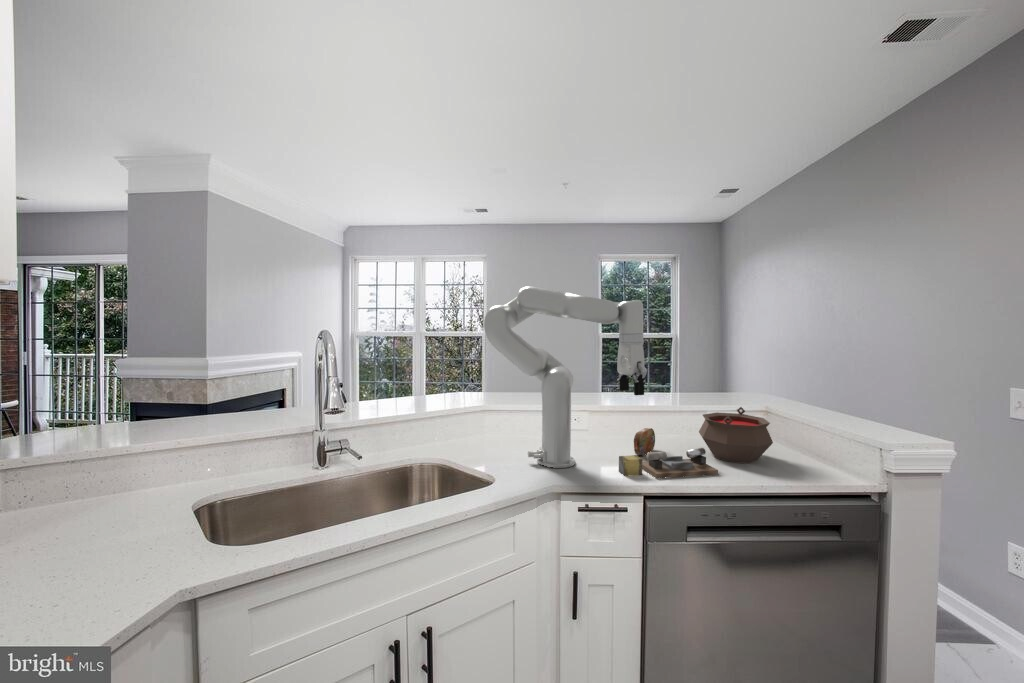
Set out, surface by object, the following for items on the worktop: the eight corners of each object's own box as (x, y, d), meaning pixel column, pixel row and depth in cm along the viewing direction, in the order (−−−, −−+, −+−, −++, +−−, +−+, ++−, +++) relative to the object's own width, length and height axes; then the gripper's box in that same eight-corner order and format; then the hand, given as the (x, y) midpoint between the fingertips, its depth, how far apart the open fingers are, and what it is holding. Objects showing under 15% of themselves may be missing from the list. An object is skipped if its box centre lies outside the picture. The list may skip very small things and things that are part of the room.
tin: (640, 458, 158) (641, 434, 157) (631, 456, 160) (632, 433, 159) (655, 449, 170) (656, 426, 169) (647, 447, 171) (648, 425, 171)
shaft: (694, 466, 144) (694, 452, 144) (683, 463, 148) (684, 449, 147) (707, 463, 148) (707, 449, 147) (696, 460, 151) (697, 446, 151)
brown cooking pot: (766, 472, 143) (768, 421, 143) (688, 458, 158) (689, 412, 157) (777, 455, 163) (778, 410, 162) (706, 443, 177) (707, 402, 176)
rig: (656, 478, 137) (656, 458, 137) (637, 466, 149) (638, 447, 149) (718, 474, 141) (718, 455, 141) (695, 462, 153) (696, 444, 153)
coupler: (624, 476, 140) (624, 459, 139) (618, 471, 143) (618, 456, 143) (642, 474, 141) (642, 459, 140) (636, 470, 145) (636, 455, 144)
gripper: (608, 339, 153) (608, 389, 153) (633, 340, 136) (634, 397, 137) (628, 338, 154) (629, 388, 155) (656, 340, 138) (656, 396, 138)
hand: (631, 392), depth 146 cm, fingers open, 9 cm apart
